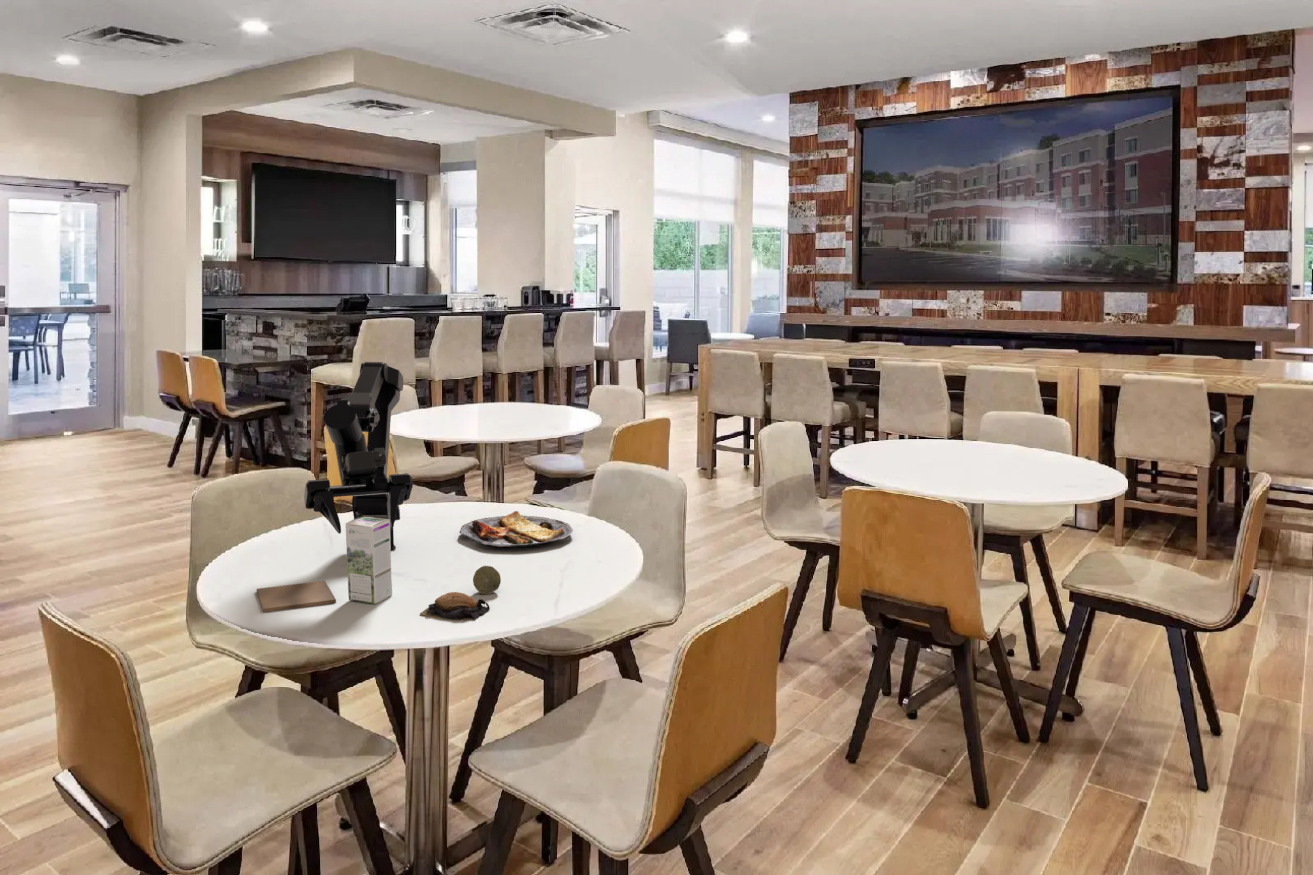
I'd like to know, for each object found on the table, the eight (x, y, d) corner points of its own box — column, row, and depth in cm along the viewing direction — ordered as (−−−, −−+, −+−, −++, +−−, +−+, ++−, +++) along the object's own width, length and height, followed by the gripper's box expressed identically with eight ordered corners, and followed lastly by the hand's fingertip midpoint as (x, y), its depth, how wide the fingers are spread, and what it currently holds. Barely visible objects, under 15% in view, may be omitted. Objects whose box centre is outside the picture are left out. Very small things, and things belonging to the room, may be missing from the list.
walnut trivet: (325, 583, 185) (324, 580, 185) (335, 602, 174) (335, 599, 174) (256, 591, 180) (256, 588, 179) (263, 612, 169) (263, 608, 169)
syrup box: (393, 595, 179) (391, 517, 177) (374, 605, 174) (371, 525, 171) (366, 591, 181) (364, 514, 179) (346, 601, 175) (344, 522, 173)
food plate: (442, 532, 223) (442, 517, 222) (529, 518, 238) (529, 504, 237) (500, 560, 204) (501, 544, 203) (591, 543, 219) (591, 528, 218)
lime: (504, 591, 182) (504, 565, 181) (484, 598, 179) (483, 571, 178) (488, 586, 185) (488, 561, 184) (468, 592, 182) (467, 566, 181)
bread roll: (416, 619, 169) (416, 599, 168) (439, 604, 177) (438, 584, 176) (473, 626, 166) (473, 605, 165) (494, 609, 174) (493, 589, 173)
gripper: (303, 436, 174) (315, 510, 166) (409, 430, 183) (425, 500, 175) (299, 472, 182) (310, 544, 174) (401, 465, 191) (415, 533, 183)
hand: (366, 529), depth 176 cm, fingers open, 9 cm apart
